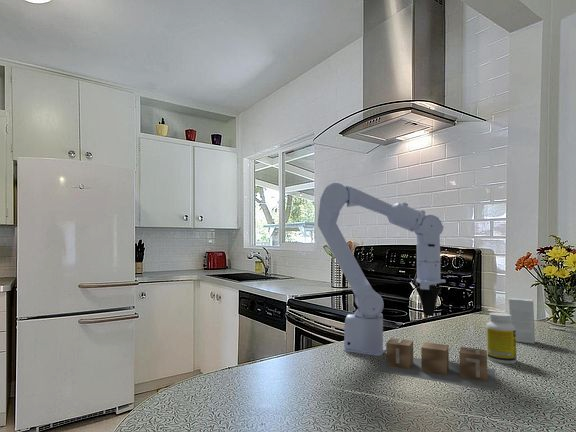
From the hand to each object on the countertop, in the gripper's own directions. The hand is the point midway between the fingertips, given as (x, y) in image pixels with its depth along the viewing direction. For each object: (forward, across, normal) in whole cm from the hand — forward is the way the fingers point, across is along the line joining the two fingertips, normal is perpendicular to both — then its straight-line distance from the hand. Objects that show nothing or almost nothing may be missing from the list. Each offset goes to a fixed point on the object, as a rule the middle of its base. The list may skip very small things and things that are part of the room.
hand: (429, 315), depth 97 cm
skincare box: (+10, +27, -22) cm, 36 cm away
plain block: (+9, -14, -3) cm, 17 cm away
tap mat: (+9, -14, -3) cm, 17 cm away
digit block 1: (+9, -14, +4) cm, 17 cm away
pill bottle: (+10, +2, -16) cm, 19 cm away
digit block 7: (+9, -14, -10) cm, 20 cm away
